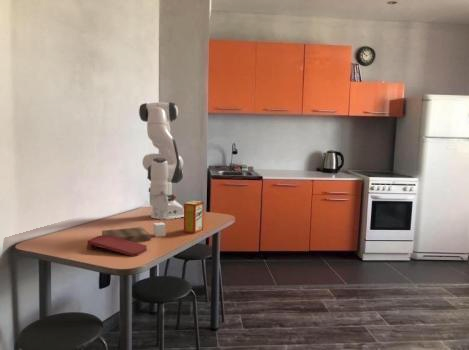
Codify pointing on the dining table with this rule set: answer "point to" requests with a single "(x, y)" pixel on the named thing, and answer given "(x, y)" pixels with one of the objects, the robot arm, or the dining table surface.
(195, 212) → the baking soda box
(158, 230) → the cream block
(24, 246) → the dining table surface
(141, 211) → the dining table surface
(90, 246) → the carton
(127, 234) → the plinth
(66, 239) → the dining table surface
